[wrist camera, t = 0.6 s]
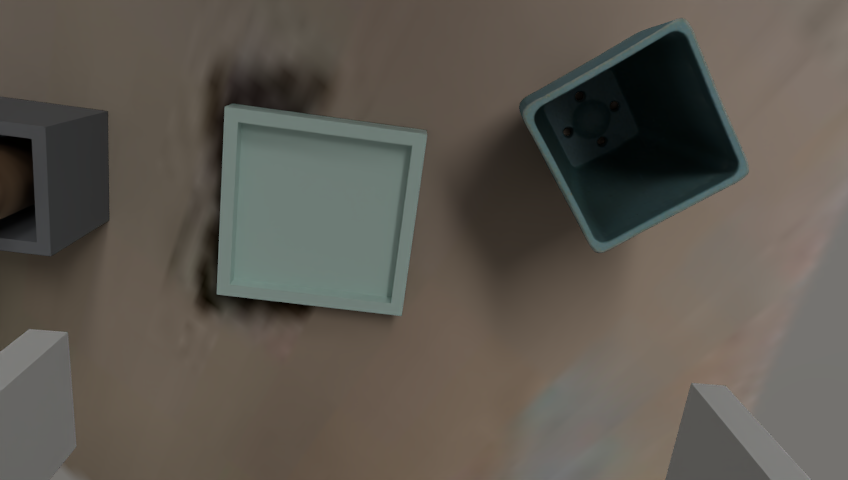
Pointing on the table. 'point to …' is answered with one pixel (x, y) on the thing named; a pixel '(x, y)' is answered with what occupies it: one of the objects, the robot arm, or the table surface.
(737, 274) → the table surface
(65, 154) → the pen cup
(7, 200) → the dowel
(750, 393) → the table surface
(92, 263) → the table surface
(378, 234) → the tray
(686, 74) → the flower pot
